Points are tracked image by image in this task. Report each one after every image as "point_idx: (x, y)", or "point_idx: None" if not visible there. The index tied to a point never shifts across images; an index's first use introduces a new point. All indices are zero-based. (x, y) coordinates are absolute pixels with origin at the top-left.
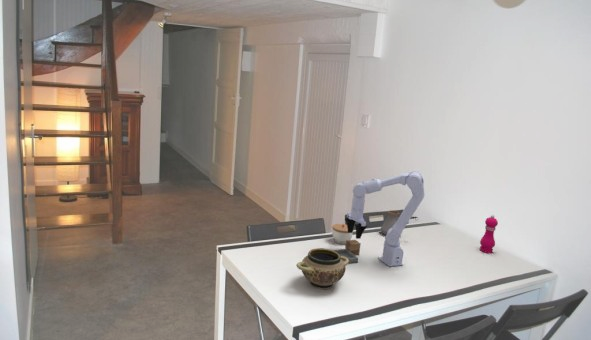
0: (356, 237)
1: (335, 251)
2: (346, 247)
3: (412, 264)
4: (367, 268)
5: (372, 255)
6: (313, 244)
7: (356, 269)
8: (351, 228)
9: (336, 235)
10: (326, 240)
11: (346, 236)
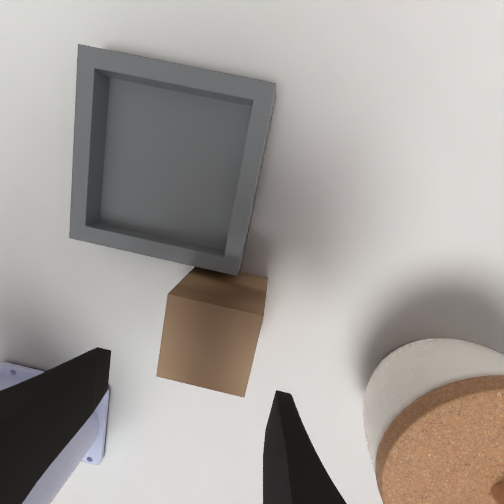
0: (90, 352)
1: (242, 166)
2: (249, 287)
3: None
4: (9, 230)
5: (156, 391)
6: (498, 141)
7: (10, 151)
8: (269, 467)
9: (447, 351)
10: (498, 298)
11: (373, 405)
